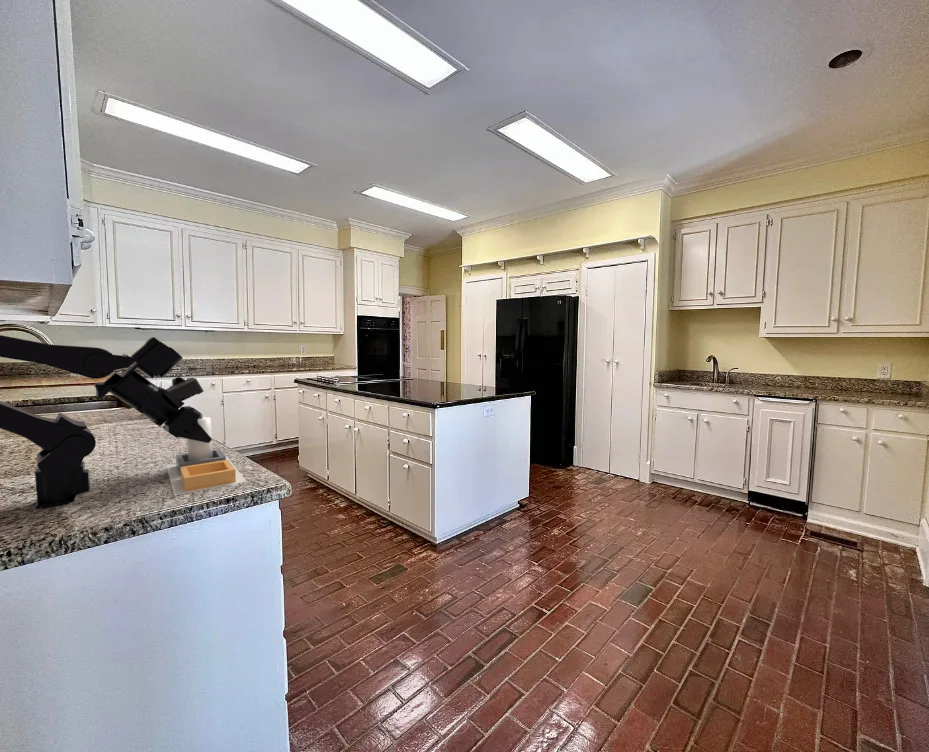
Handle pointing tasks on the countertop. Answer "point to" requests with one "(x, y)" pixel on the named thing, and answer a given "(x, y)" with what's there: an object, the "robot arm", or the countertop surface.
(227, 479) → the dock
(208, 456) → the white bottle
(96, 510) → the countertop surface
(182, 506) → the countertop surface
